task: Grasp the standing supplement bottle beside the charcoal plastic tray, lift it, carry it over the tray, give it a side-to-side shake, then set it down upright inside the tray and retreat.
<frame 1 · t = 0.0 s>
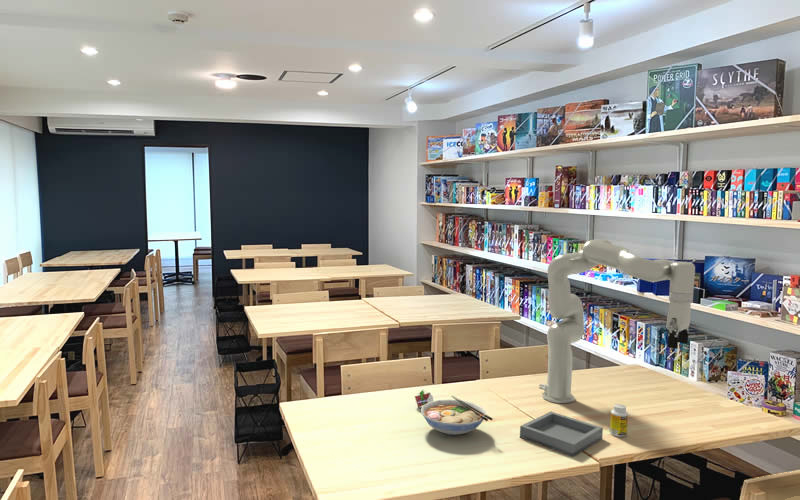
hand: (677, 345, 204), 31 cm above the table, tool pointing down, fingers open, 9 cm apart
supplement bottle: (618, 434, 204), on the table
ramen bowl: (452, 431, 204), on the table
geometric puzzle: (423, 408, 225), on the table
tray: (561, 438, 199), on the table
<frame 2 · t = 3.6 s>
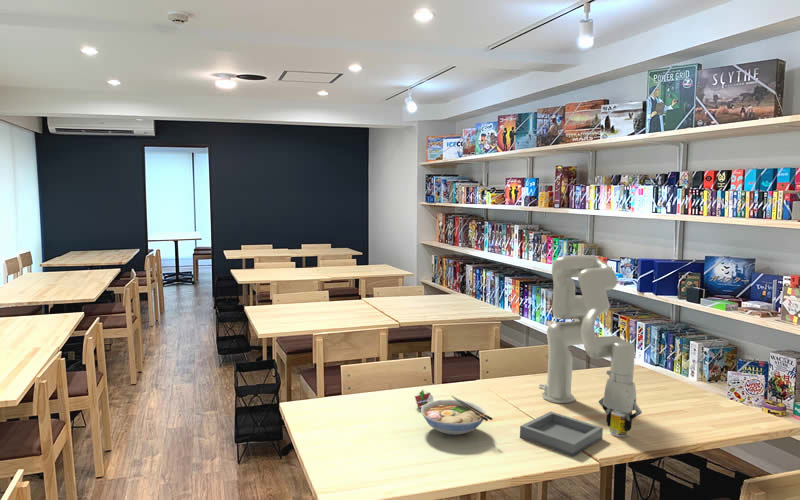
hand: (618, 427, 203), 3 cm above the table, tool pointing down, fingers closed on supplement bottle, 5 cm apart
supplement bottle: (618, 434, 204), on the table, touching gripper
everything else where it was.
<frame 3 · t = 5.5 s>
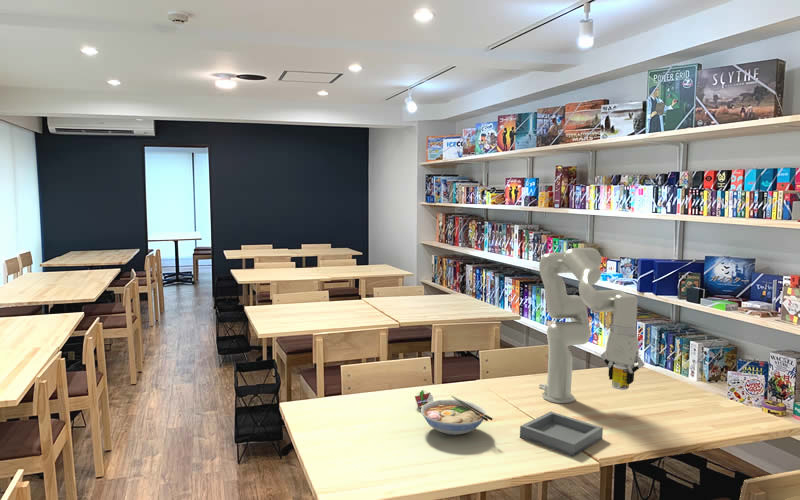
hand: (620, 380, 202), 19 cm above the table, tool pointing down, fingers closed on supplement bottle, 5 cm apart
supplement bottle: (620, 388, 202), point 16 cm above the table, touching gripper
everything else where it was.
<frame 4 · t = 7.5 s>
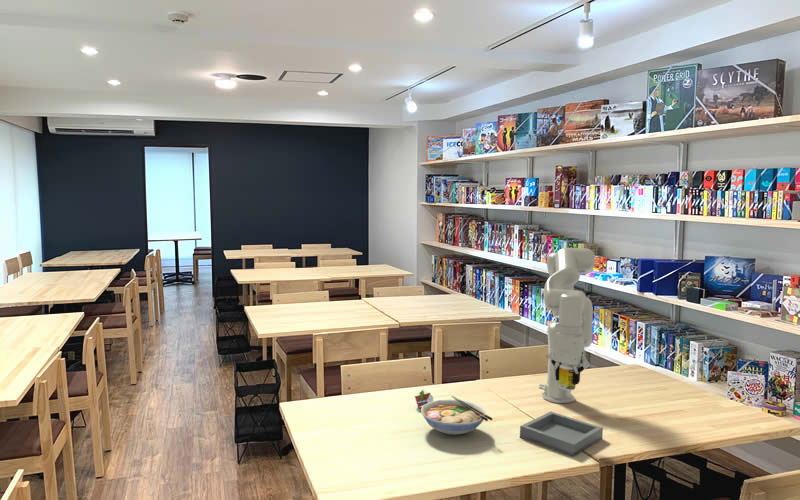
hand: (567, 381, 199), 19 cm above the table, tool pointing down, fingers closed on supplement bottle, 5 cm apart
supplement bottle: (566, 389, 200), point 17 cm above the table, touching gripper
everything else where it was.
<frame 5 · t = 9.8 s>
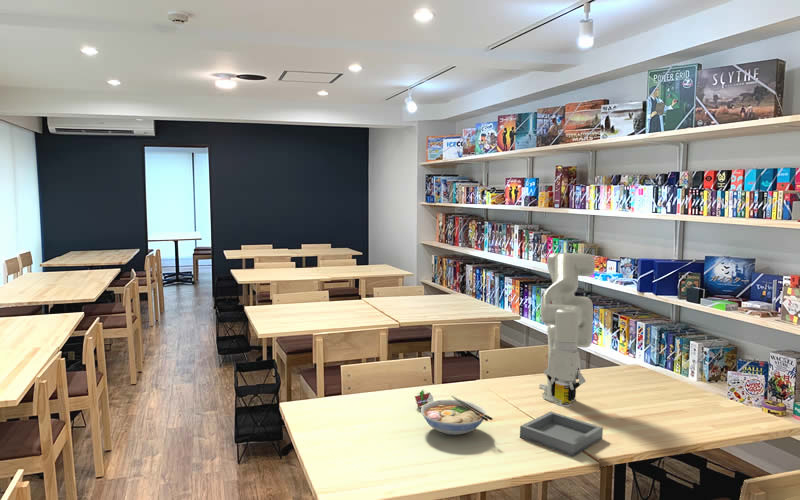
hand: (563, 397, 198), 14 cm above the table, tool pointing down, fingers closed on supplement bottle, 5 cm apart
supplement bottle: (562, 405, 198), point 12 cm above the table, touching gripper
everything else where it was.
when the fingers open (5 cm above the table, at t = 11.8 s): supplement bottle drops 2 cm, resting on tray.
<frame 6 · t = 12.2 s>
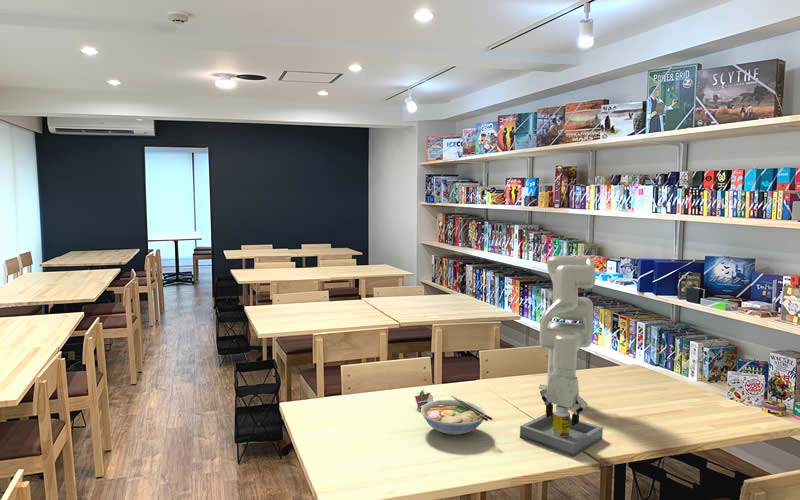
hand: (561, 420, 199), 6 cm above the table, tool pointing down, fingers open, 9 cm apart
supplement bottle: (560, 435, 200), point 1 cm above the table, touching tray
everything else where it was.
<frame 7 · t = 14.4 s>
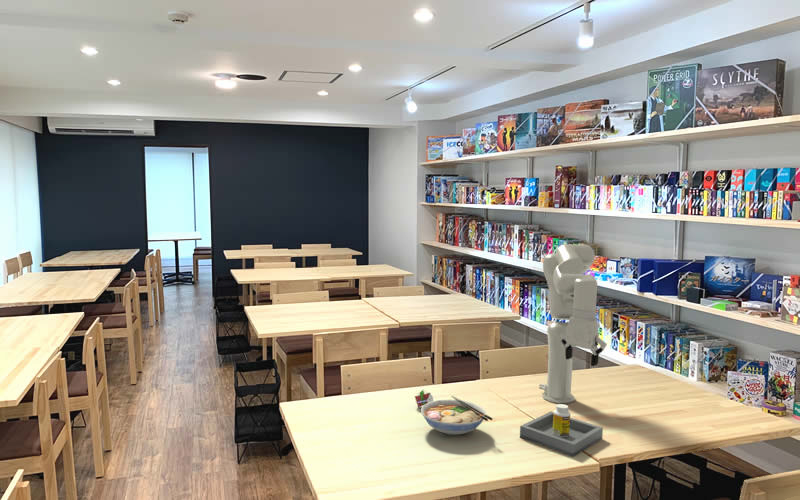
hand: (581, 361, 203), 25 cm above the table, tool pointing down, fingers open, 9 cm apart
nothing on the table moved.
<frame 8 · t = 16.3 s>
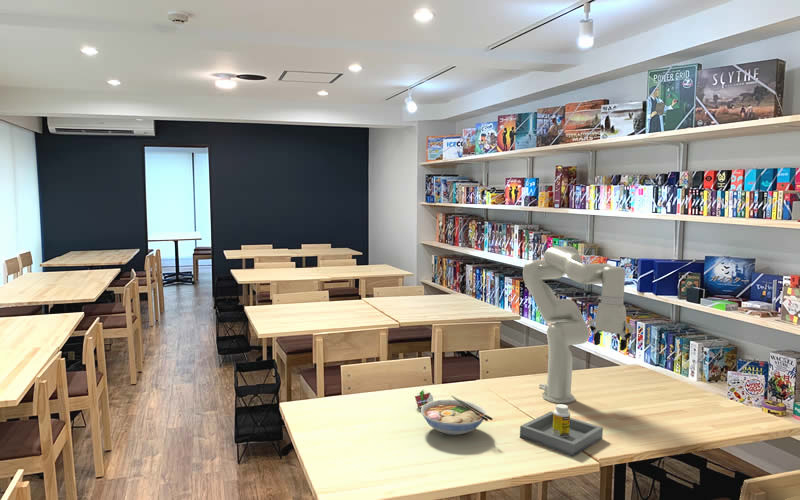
hand: (609, 347, 212), 28 cm above the table, tool pointing down, fingers open, 9 cm apart
nothing on the table moved.
at the end: supplement bottle inside the target area on the tray (0.3 cm from its centre), point 0.8 cm above the tray's base; supplement bottle tilted 0°; the gripper is holding nothing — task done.
